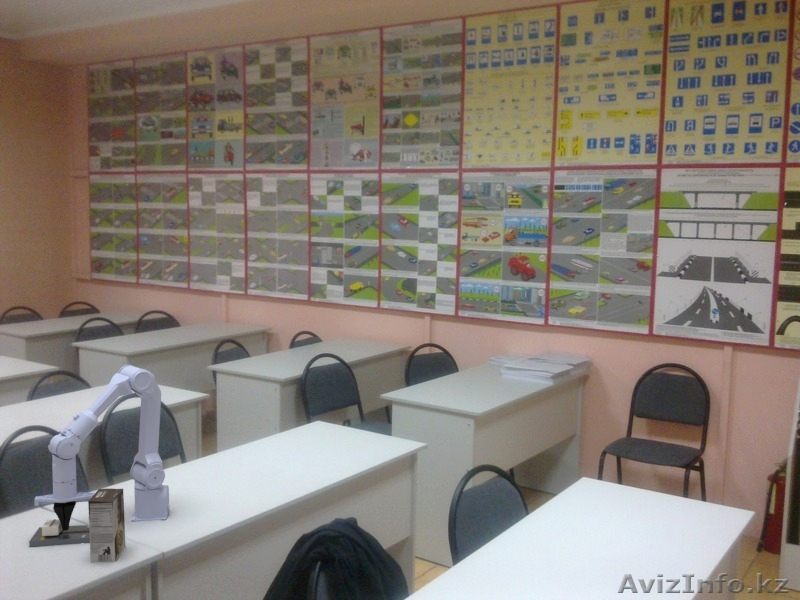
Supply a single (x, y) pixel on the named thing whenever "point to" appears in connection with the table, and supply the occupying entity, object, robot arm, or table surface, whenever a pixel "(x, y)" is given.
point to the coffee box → (106, 525)
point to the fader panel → (62, 537)
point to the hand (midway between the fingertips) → (65, 529)
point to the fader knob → (51, 527)
